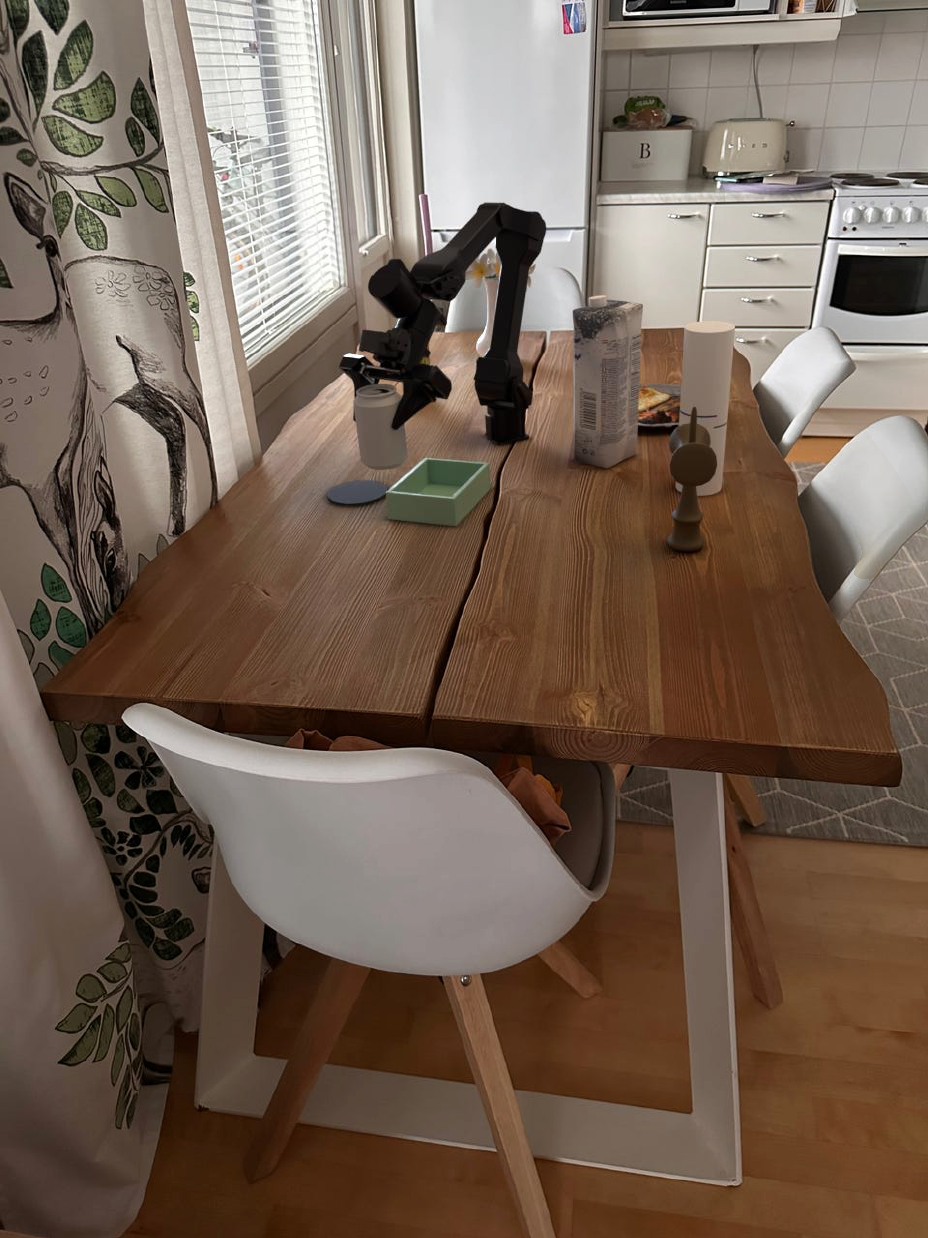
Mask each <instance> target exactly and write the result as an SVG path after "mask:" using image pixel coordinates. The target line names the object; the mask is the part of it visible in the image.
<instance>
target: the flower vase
mask: <svg viewBox="0 0 928 1238" xmlns="http://www.w3.org/2000/svg"><path fill="white" fill-rule="evenodd" d="M536 265H537V264H536V263H533V264H532V265H531V266H530V269H529V274H528V281H527V288H526V293H527V291H528V288H529V289H530V288H531V286H532V278H531V276H530V275H532V274H533V273H534V271H535V269H536ZM500 271H501V261H500V258H499V255H498V253H497V252H496V253H495V251H494V250H493V249H492V247H491V248H488V249H487V251H486V253H482V255H481V254H480V255H479V256H478V257H477V258H476V260H475V261H474V262H473V263H472V264H471V265H470V266H469V268H468V269H467V271H466V281H469V280H472V279H474V280H473V284H474V287H475V288H476V289H479V288H480V287H481V286H482V283H483V282H484V285H485V290H486V303H487V307H486V308H487V309H486V310H487V315H486V316H487V317H486V325H485V328H484V330H483V333H482V334H481V335H479V336H480V337H479V338H478V339H477V341H476V346H475V349H476V352H477V354H478V355H479V357H484V356H485V354H486V353H487V352H488V350H489V349H490V344H491V337H492V329H493V322H494V315H495V307H496V300H497V293H498V286H499V278H500Z"/></svg>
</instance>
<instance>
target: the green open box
mask: <svg viewBox="0 0 928 1238" xmlns="http://www.w3.org/2000/svg"><path fill="white" fill-rule="evenodd" d="M490 465H491V464H490V462H484V461H483V462H482V461H473V460H472V461H470V460H457V459H446V458H434V457H425V458H423V459H422V460H421V461H420V462H418V463H417V464H416V465H415V466H414V467H413V468H412V469H410V470H409V471H408V472H407V473H406V474H405V475H403V476H402V477H401V478H400V479H399V480H398V481H397V482H396V483H395V484H393V485H392V486H391V487H390V488H389V489H388V491H387V492H386V496H385V500H386V510H387V519H388V520H392V521H401V522H411V523H422V524H430V525H440V526H446V527H447V526H448V527H449V526H450V527H457V526H458V525H459V524H460V523H461V522H462V521H463V520H464V518H465V517H466V516H467V515H468V514H469V513H470V512H471V511H472V510H473V509H474V508H475V507H476V505H478V503H479V502H480V501H481V500H482V499H483V498H484V497H485V496H486V494H488V493H489V491H490V490H491V489H492V487H491V485H492V484H491V466H490Z"/></svg>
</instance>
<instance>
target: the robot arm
mask: <svg viewBox="0 0 928 1238" xmlns="http://www.w3.org/2000/svg"><path fill="white" fill-rule="evenodd" d="M546 234H547V222H546V221H545V219H544V218H543V216H542V215H541V213H540V212H539V211H534V210H524V209H520V208H517V207H514V206H511V205H509V204H508V203H505V202H483V203H481V204H479V205H478V207H477V209H476V212H475V213H474V214H473V215H472V216H471V218H470V219H469V220H468V221H466V223H465V224H464V225H463V226H462V227H461V229H460V230H459V231H458V232H457V233H455V234H454V236H453V237H452V238H451V239H450V240H449V242H447V243H446V244H445V245H444V246H443V247H442V248H441V249H439V250H436V251H434V252H431V253H428V254H426V255H425V256H423V257H422V258H420V259H419V260H417V261H416V262H415V263H414V264H413V266H412V267H411V270H409V269H408V268H407V266H406V264H405V263H404V262H403V260H402V259H401V258H392V257H391V258H389V259H388V262H387V264H385V265H383V266H381V267H379V268H377V270H376V271H375V272H374V273H373V274H372V275H371V276H370V278H369V280H368V284H367V289H368V293H369V294H370V295H371V297H373V299H374V300H375V301H376V302H377V303H378V304H379V305H380V306H381V307H382V308H383V309H384V310H385V311H386V313H387V314H388V315H389V316H390V317H391V318H394V319H397V323H396V325H395V327H392V328H391V329H387V330H386V331H380V330H374V329H373V330H372V329H364V328H363V329H361V333H360V340H359V346H358V351H359V352H360V353H364V352H365V353H369V354H373V355H372V359H373V360H374V361H375V362H376V363H379V365H374V363H373V362H372V361H371V360H370V359H369V358H368V357H367V356H366V355H362V354H361V355H360V354H353V353H347V354H345V355H343V356H342V358H341V361H340V363H339V365H338V369H339V370H340V371H342V373H344V375H346V376H347V377H348V378H349V379H350V380H351V381H352V384H353V392H354V393H353V394H354V395H353V397H354V398H353V400H354V399H355V398H356V396H357V394H356V391H357V390H358V389H359V388H361V387H364V386H368V385H373V384H380V382H381V381H389V382H395V383H401V384H402V383H403V389H402V395H401V396H402V398H401V401H400V403H399V406H398V408H397V411H396V413H395V416H394V418H393V422H392V426H391V427H392V428H393V429H394V430H398V429H399V428H400V427H401V426H402V425H403V424H404V425H405V424H406V423H407V422H408V421H410V419H411V418H413V417H414V416H416V414H417V413H419V412H420V411H421V410H423V409H425V408H426V407H427V406H429V405H430V404H431V403H436V402H437V399H442V400H449V397H450V395H451V392H452V390H453V385H452V381H451V379H450V378H449V377H448V376H447V375H446V373H445V372H443V371H442V370H441V368H440V367H439V366H438V365H435V364H430V365H428V364H420V363H421V361H422V358H423V357H424V358H429V356H431V350H430V349H429V350H428V349H427V347H428V344H429V345H430V342H431V339H432V337H433V334H434V332H435V330H436V327H437V326H443V327H445V326H447V325H448V321H447V316H446V315H445V312H444V308H443V307H441V306H440V307H439V306H437V305H436V304H435V303H434V302H433V301H440V302H451V301H454V300H455V299H456V298H457V296H458V295H459V293H460V291H461V290H462V288H463V286H464V285H465V283H466V282H467V280H466V271H467V269H468V268H469V266H470V265H471V264H472V263H473V262H474V261H475V260H476V258H477V257H478V256H479V255H480V256H481V254H483V252H484V251H485V250H486V248H487V247H488V246H489V245H490V244H491V243H492V242H493V241H494V248H495V251H496V253H498V255H499V258H500V261H501V271H500V278H499V286H498V293H497V300H496V307H495V315H494V322H493V329H492V337H491V344H490V349H489V350H488V352H487V353H486V354H485V356H484V357H482V356H478V357H477V359H476V363H475V372H474V376H473V382H474V383H473V385H474V391H475V392H476V393H475V394H476V397H477V399H478V402H479V405H480V406H485V407H486V411H487V413H486V414H485V415H484V422H485V423H484V424H485V433H484V436H485V437H486V438H487V439H489V440H490V441H492V442H494V443H495V444H496V445H499V446H500V445H504V444H509V443H515V442H521V441H524V440H529V439H530V435H529V434H527V433H526V410H528V409H529V408H530V406H532V404H533V399H534V398H533V397H534V393H533V391H532V390H531V389H530V387H529V386H528V385H527V383H526V382H525V381H524V371H525V370H524V366H523V364H522V361H521V359H520V356H519V354H518V350H519V344H520V343H519V342H520V336H521V329H522V323H523V314H524V308H525V301H526V294H527V292H526V288H527V289H528V285H527V281H528V274H529V269H530V266H531V265H534V263H535V261H536V259H538V257H539V256H540V254H541V252H542V250H543V249H542V248H543V244H544V241H545V237H546ZM480 256H479V257H480ZM352 421H353V422H355V423H356V420H355V412H354V411H353V415H352Z"/></svg>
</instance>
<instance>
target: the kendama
mask: <svg viewBox="0 0 928 1238" xmlns="http://www.w3.org/2000/svg"><path fill="white" fill-rule="evenodd" d="M710 444H711V441H710V434H709V432H708V431H707V429H706V428H705V427H703V426H701V425H700V424H697V409H696V407H695V406H694V407H693V408H692V412H691V418H690V423H688V424H682V425H681V426H677V427H675V429H673V431H672V433H671V434H670V436H669V441H668V445H669V446H668V447H669V452H670V453H671V457H670V460H669V472H670V475H671V477H672V478H673V480H674V482H675V483H676V482H678V483H679V484H681V485H683V487H682V491H681V492H680V497H679V500H678V503H677V506H676V508H675V509H674V510H673V511H672V512H671V519H672V520H673V529H672V533H671V534H669V536H668V537H667V544H668V546H669V547H670V548H671V549H673V550H676V551H679V552H694V551H699V550H700V549H701V548H703V547H705V546H704V545H705V539H704V538H703V536H702V534H701V522H702V521H703V520H704V514H703V512H702V510H700V506H699V501H698V496H697V490H696V486H701V485H703V484H705V483H707V482H709V481H710V480H711V479H712V477H713V476H714V475H715V472H716V468H717V457H716V454H715V452H714V451H713V449H712V448H711V447H710Z"/></svg>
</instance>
